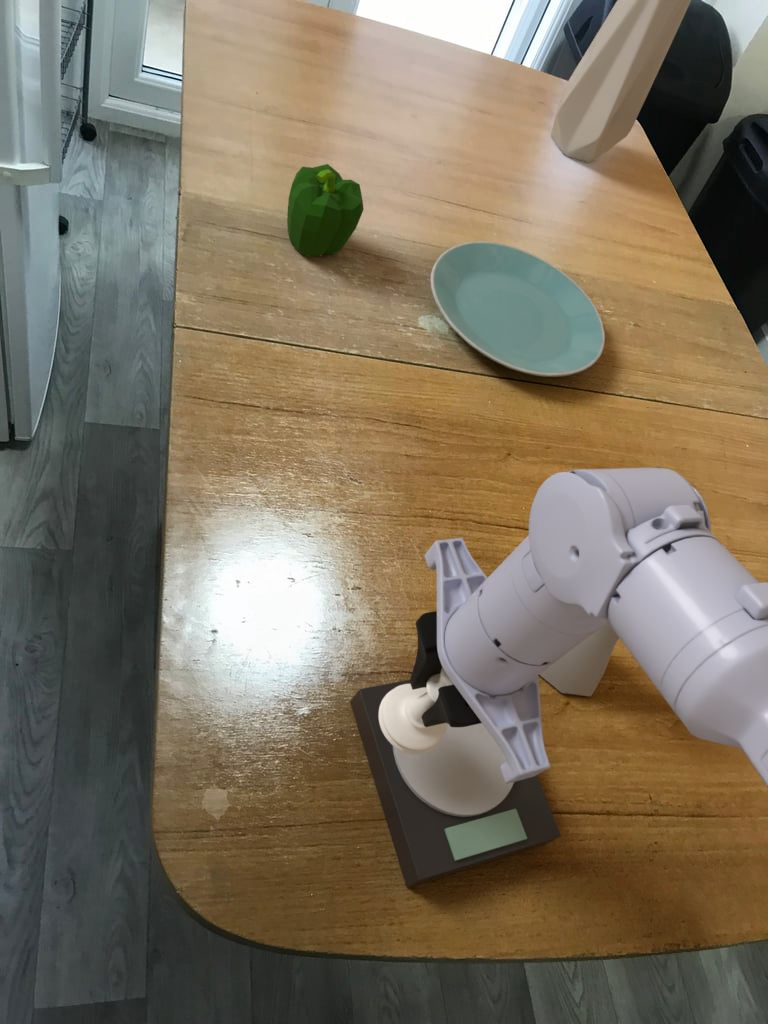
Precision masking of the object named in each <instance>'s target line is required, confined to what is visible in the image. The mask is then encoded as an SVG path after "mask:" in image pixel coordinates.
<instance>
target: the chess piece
mask: <svg viewBox="0 0 768 1024" xmlns="http://www.w3.org/2000/svg"><path fill="white" fill-rule="evenodd" d="M449 685H453V683H452V681H451V680H450V679H449V677H448V676H447V674H446V672H445V671H444V669H443V667H442V669H441V673H440V674H435V675H433V676H431V677H430V678H429V680H428V682H427V686H426V688H425V687H423V688H418V689H414V690H412V687H411V684H403V685H400V686H398V687H396V688H394V689H393V690H391V691H390V692H388V693H387V694H386V695H385V697H384V698H383V700H382V702H381V704H380V707H379V724H380V727H381V730H382V732H383V734H384V736H385V737H386V739H387V740H388V741H389V742H390V743H391V744H392V745H393V746H394V747H396V748H397V749H399V750H400V751H402V752H405V753H408V754H415V755H418V754H424V753H427V752H430V751H431V750H433V749H434V748H435V747H437V746H438V744H439V743H440V742H441V740H442V738H443V737H444V735H445V732H446V728H447V723H443V724H438V725H434V726H430V727H425V726H424V724H423V721H422V715H423V713H424V712H425V711H427V710H428V709H429V708H430V707H432V706H433V705H434V703H435V702H436V700H437V698H438V695H439V691H438V689H439V688H440V687H444V686H449Z"/></svg>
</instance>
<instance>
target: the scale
mask: <svg viewBox="0 0 768 1024" xmlns="http://www.w3.org/2000/svg"><path fill="white" fill-rule="evenodd" d="M403 684H410V679H405V680H400V681H396V682H395V681H394V682H389V683H385V684H380V685H375V686H369V687H368V686H367V687H363V688H359V689H358V690H357V692H356V693H355V694H354V696H353V697H352V698H351V700H350V701H349V703H350V707H351V710H352V713H353V716H354V719H355V722H356V726H357V729H358V733H359V735H360V738H361V742H362V747H363V749H364V752H365V756H366V760H367V763H368V765H369V766H368V767H369V769H370V772H371V775H372V778H373V782H374V785H375V789H376V792H377V795H378V799H379V801H380V805H381V808H382V811H383V814H384V818H385V821H386V824H387V827H388V831H389V835H390V838H391V840H392V844H393V848H394V850H395V854H396V858H397V860H398V864H399V867H400V870H401V873H402V877H403V879H404V884H405V887H406V889H409V888H412V887H414V886H415V887H416V886H418V885H422V884H424V883H427V882H432V881H435V880H437V879H441V878H444V877H447V876H451V875H454V874H457V873H461V872H463V871H467V870H469V869H473V868H476V867H480V866H482V865H486V864H489V863H492V862H495V861H498V860H501V859H505V858H507V857H512V856H514V855H518V854H521V853H525V852H527V851H532V850H534V849H537V848H540V847H543V846H546V845H548V844H550V843H552V842H554V841H556V840H557V839H560V838H561V837H562V834H561V832H560V829H559V827H558V824H557V821H556V818H555V817H554V813H553V812H552V809H551V807H550V804H549V801H548V800H547V797H546V794H545V792H544V789H543V786H542V784H541V782H540V779H539V777H538V775H536V776H534V777H530V778H527V779H523V780H520V781H516V782H512V783H508V784H506V783H505V780H504V777H503V774H502V772H501V765H502V764H503V763H505V762H506V761H507V758H506V756H505V754H504V753H503V751H502V750H501V748H500V747H499V745H498V744H497V743H496V741H495V740H494V739H493V737H492V736H491V734H490V733H489V732H488V730H487V729H486V728H485V726H484V725H483V724H482V723H480V724H476V725H471V726H467V727H451V726H450V725H449V724H448V723H447V728H446V732H445V735H444V737H443V738H442V740H441V742H440V743H439V744H438V746H437V747H435V748H434V749H433V750H431V751H430V752H427V753H424V754H418V755H415V754H408V753H405V752H402V751H400V750H399V749H397V748H396V747H394V746H393V745H392V744H391V743H390V742H389V741H388V740H387V739H386V737H385V736H384V734H383V732H382V730H381V727H380V724H379V707H380V704H381V702H382V700H383V698H384V697H385V695H386V694H387V693H388V692H390V691H391V690H393V689H394V688H396V687H398V686H400V685H403ZM425 688H426V687H425Z"/></svg>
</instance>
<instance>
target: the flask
mask: <svg viewBox="0 0 768 1024" xmlns="http://www.w3.org/2000/svg"><path fill="white" fill-rule="evenodd" d="M619 640H620V638H619V637H618V635H617V634H616V632H615V631H614V630H613V628H612V627H611V626H610V625H609V623H606V624H605V625H604V626H602V627H601V628H600V629H598V630H597V631H596V632H594V633H593V634H592V635H590V636H589V637H588V638H586V639H585V640H584V641H582V642H581V643H580V644H579V645H577V646H576V647H575V648H573V649H572V650H571V651H569V652H568V653H567V654H565V655H564V656H563V657H561V658H560V659H559V660H558V661H556V662H555V663H554V664H552V665H551V666H550V667H548V668H547V669H546V670H544V671H543V672H542V673H540V674H539V675H538V676H540V677H541V678H542V679H544V680H545V681H546V682H547V683H549V684H550V685H551V686H553V688H555V689H556V690H557V691H558V692H560V693H561V694H567V695H576V696H584V697H592V696H593V695H594V692H595V691H596V689H597V687H598V685H599V684H600V682H601V680H602V679H603V677H604V675H605V673H606V670H607V668H608V664H609V662H610V659H611V657H612V654H613V651H614V649H615V647H616V644H617V643H618V641H619Z"/></svg>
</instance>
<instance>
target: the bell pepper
mask: <svg viewBox="0 0 768 1024" xmlns="http://www.w3.org/2000/svg"><path fill="white" fill-rule="evenodd" d="M363 212H364V201H363V194H362V189H361V185H360V183H358V182H356V181H354V180H352V179H343V178H342V176H341V174H340V173H339V172H338V171H337V170H336V169H334V168H333V167H332V166H331V165H330V164H328V163H325V164H322V165H317V166H314V167H309V166H301V168H300V169H299V170H298V171H297V172H296V173H295V175H294V178H293V181H292V183H291V187H290V191H289V195H288V205H287V215H286V216H287V217H286V222H287V225H286V226H287V234H288V238H289V241H290V244H291V246H292V247H293V248H294V249H295V250H296V251H297V252H299V253H300V254H302V255H304V256H306V257H308V258H320V257H321V256H323V255H328V256H331V255H335V254H337V253H339V252H340V251H341V250H342V249H343V247H344V246H345V245H346V244H347V242H348V241H349V240H350V238H351V237H352V235H353V234H354V232H355V230H356V229H357V226H358V224H359V223H360V219H361V218H362V215H363Z"/></svg>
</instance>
